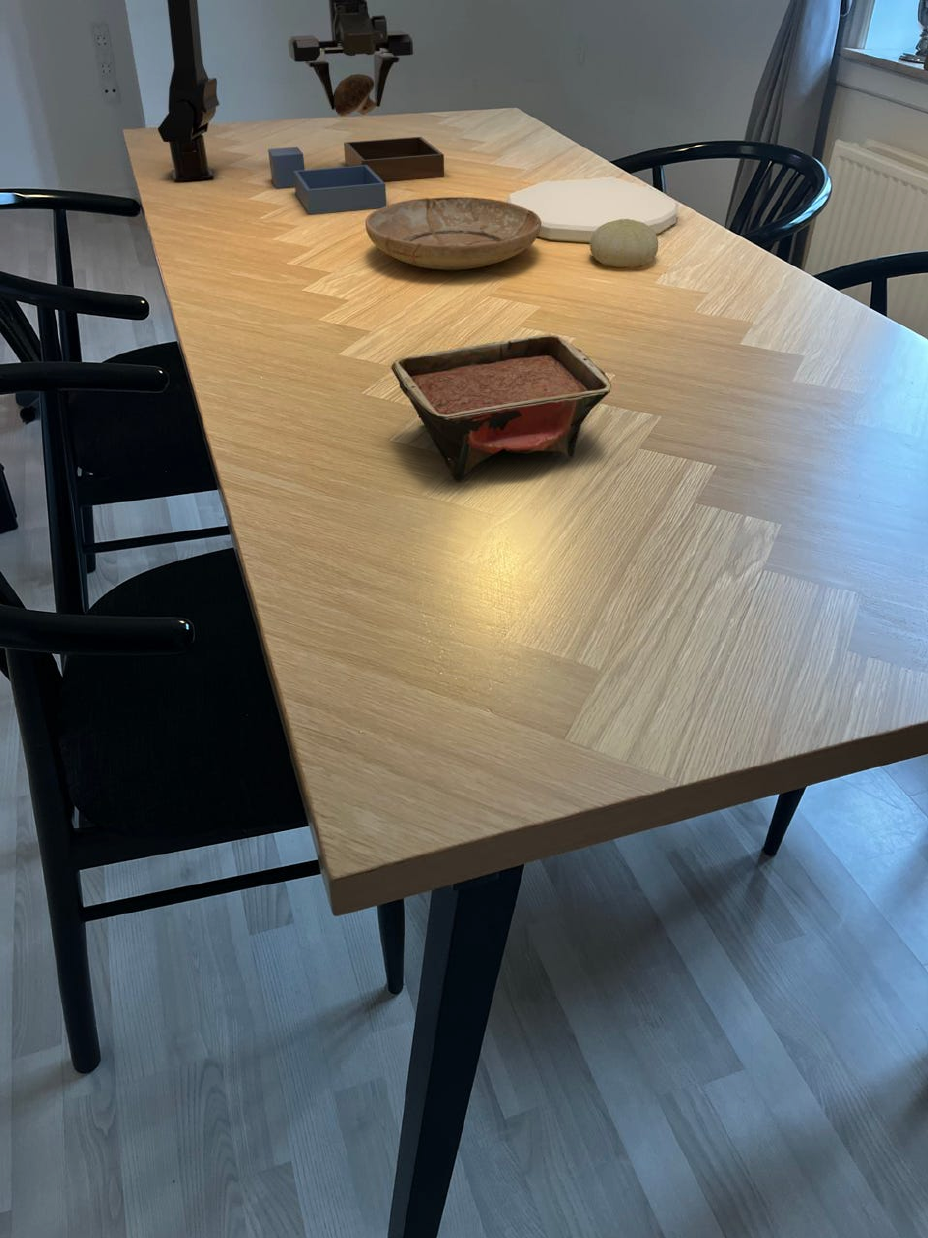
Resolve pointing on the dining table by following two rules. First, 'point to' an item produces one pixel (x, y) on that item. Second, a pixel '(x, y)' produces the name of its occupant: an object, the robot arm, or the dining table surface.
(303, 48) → the robot arm
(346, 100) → the mushroom
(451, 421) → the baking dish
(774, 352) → the dining table surface
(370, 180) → the blue bin
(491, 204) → the ceramic bowl
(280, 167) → the blue block
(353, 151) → the walnut bin
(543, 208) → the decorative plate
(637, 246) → the sea urchin shell
